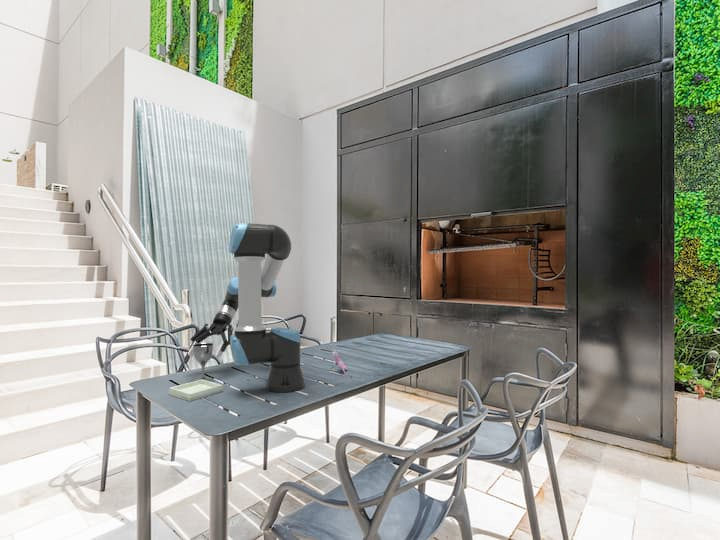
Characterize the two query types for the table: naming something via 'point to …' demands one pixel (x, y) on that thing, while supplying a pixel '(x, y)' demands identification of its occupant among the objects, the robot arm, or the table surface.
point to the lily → (338, 362)
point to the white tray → (195, 390)
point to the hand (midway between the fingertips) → (203, 356)
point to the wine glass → (203, 356)
